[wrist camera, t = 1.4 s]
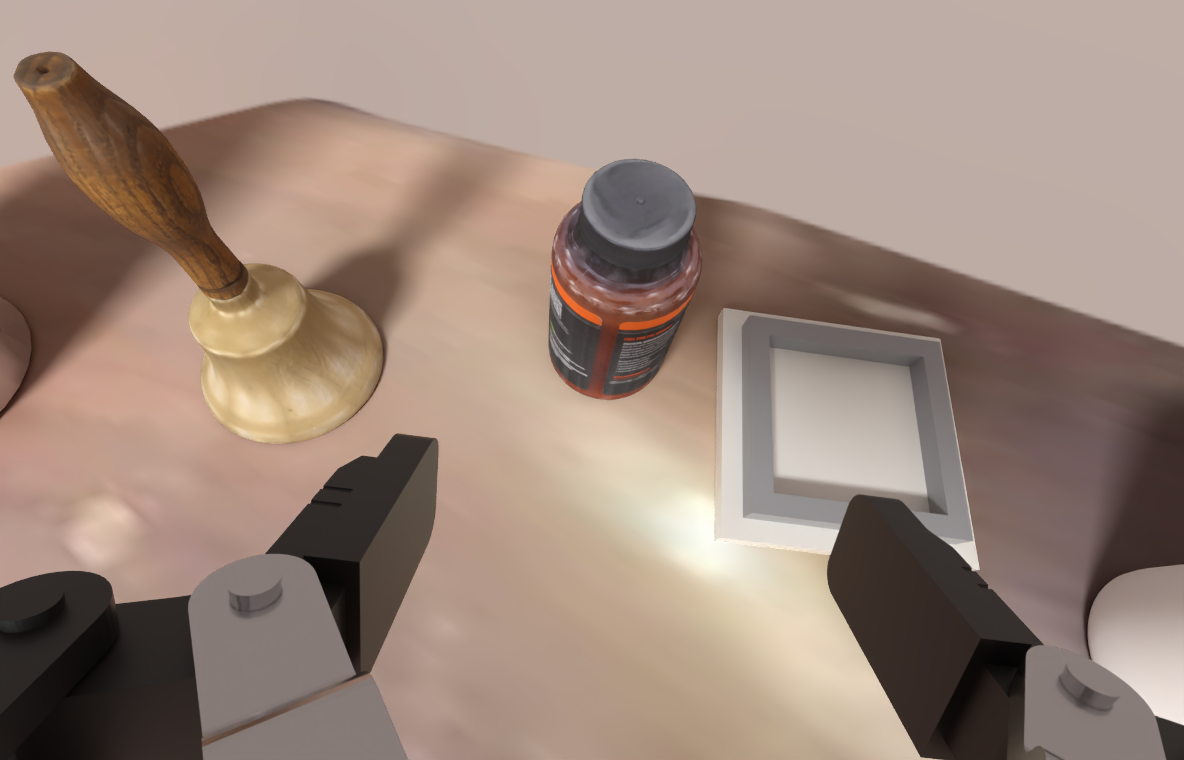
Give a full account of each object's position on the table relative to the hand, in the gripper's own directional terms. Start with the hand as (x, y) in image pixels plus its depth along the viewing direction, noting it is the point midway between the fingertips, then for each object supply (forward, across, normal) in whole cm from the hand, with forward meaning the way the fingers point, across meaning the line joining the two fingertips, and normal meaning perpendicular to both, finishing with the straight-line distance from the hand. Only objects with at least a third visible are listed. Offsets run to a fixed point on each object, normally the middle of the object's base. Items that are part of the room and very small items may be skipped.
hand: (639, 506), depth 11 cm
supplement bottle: (+19, 0, +3) cm, 19 cm away
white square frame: (+17, -12, +5) cm, 21 cm away
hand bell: (+17, +15, +5) cm, 23 cm away
